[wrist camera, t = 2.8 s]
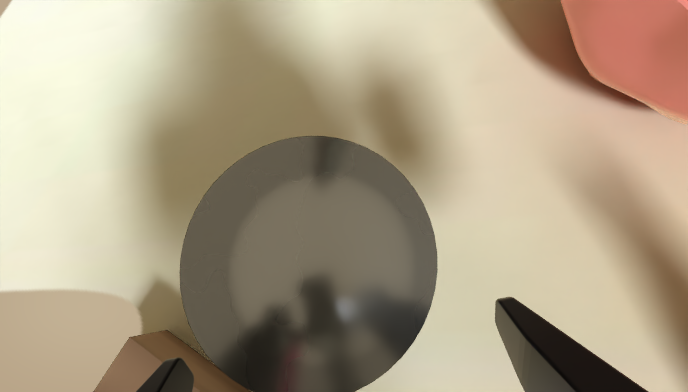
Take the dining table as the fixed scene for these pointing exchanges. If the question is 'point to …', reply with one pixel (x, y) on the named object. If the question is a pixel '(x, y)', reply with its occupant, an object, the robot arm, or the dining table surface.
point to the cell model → (635, 49)
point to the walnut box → (149, 353)
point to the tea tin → (308, 267)
